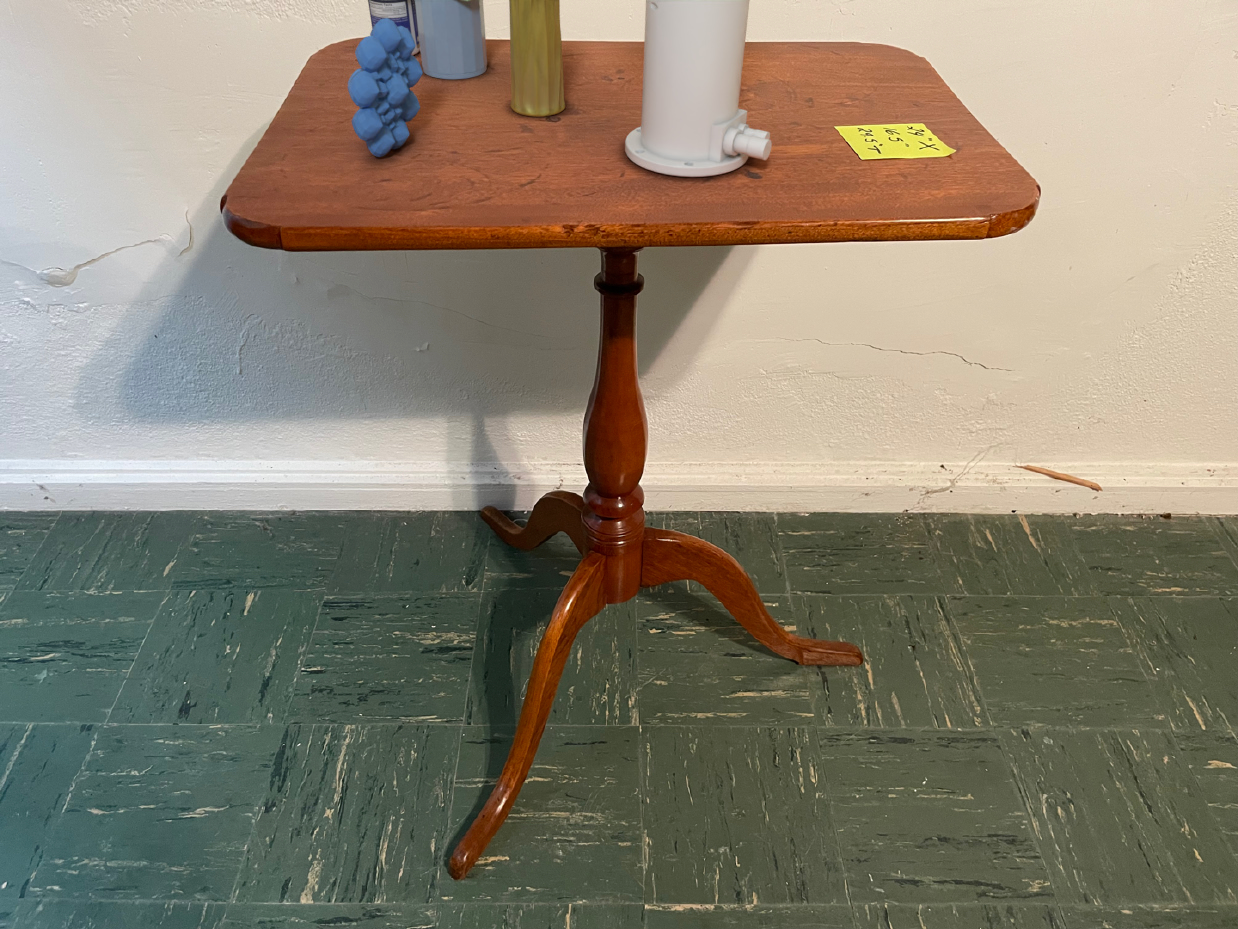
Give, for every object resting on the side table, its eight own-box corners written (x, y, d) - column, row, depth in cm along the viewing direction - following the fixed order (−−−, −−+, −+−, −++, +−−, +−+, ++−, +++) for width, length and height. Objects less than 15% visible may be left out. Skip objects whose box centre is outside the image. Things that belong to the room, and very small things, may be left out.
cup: (499, 66, 114) (495, -14, 108) (459, 83, 109) (452, 0, 103) (450, 54, 117) (443, -24, 111) (409, 71, 112) (399, -11, 106)
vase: (529, 121, 100) (523, -24, 91) (500, 104, 104) (492, -37, 95) (575, 110, 103) (575, -32, 94) (546, 94, 107) (542, -44, 97)
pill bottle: (393, 42, 120) (382, -44, 114) (430, 49, 118) (421, -38, 112) (366, 54, 116) (353, -34, 110) (403, 61, 114) (392, -28, 108)
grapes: (386, 122, 99) (368, 1, 91) (443, 131, 97) (430, 8, 90) (326, 163, 90) (301, 33, 83) (388, 173, 89) (368, 42, 81)
